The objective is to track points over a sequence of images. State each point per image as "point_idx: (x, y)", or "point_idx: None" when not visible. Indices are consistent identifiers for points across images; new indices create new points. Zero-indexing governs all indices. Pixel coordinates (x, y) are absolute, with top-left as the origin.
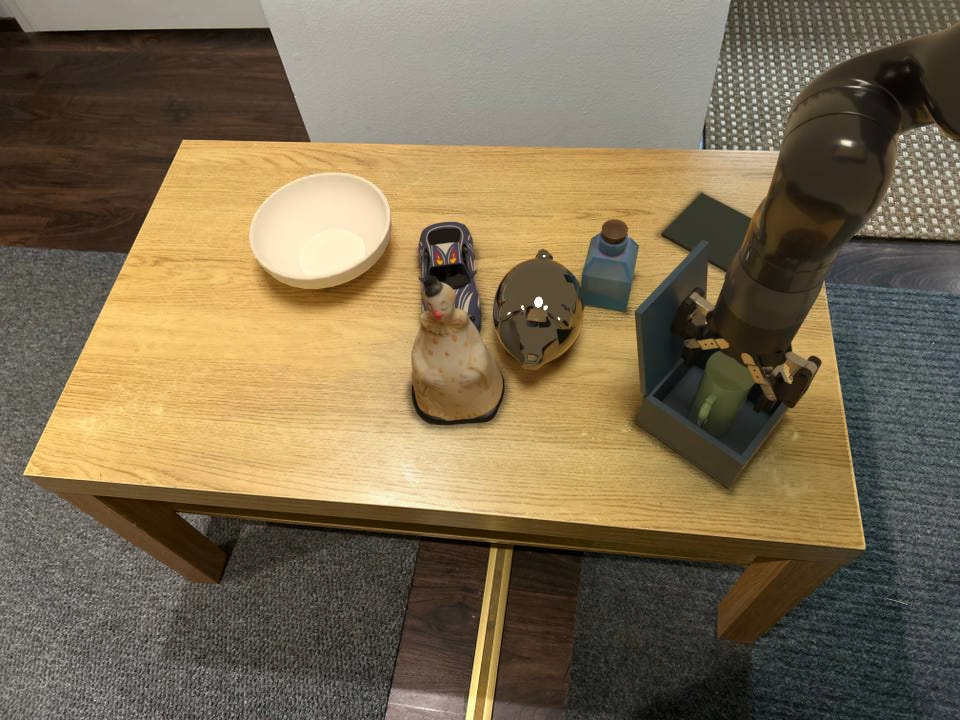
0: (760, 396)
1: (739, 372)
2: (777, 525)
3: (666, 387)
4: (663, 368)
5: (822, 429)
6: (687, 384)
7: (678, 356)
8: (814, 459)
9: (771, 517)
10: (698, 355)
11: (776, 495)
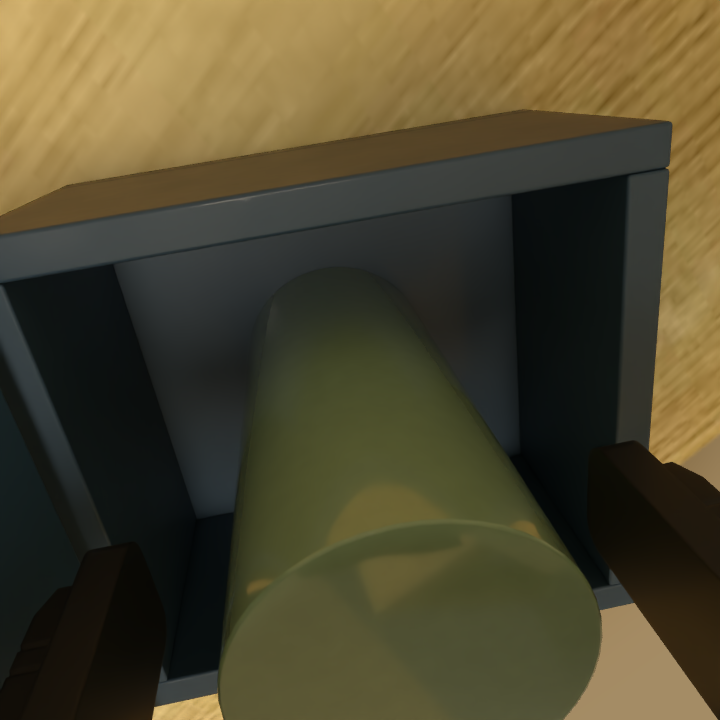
0: (700, 693)
1: (469, 654)
2: (696, 425)
3: (148, 501)
4: None
5: (672, 16)
6: (166, 312)
7: (50, 545)
8: (699, 162)
9: (672, 421)
10: (131, 581)
11: None
